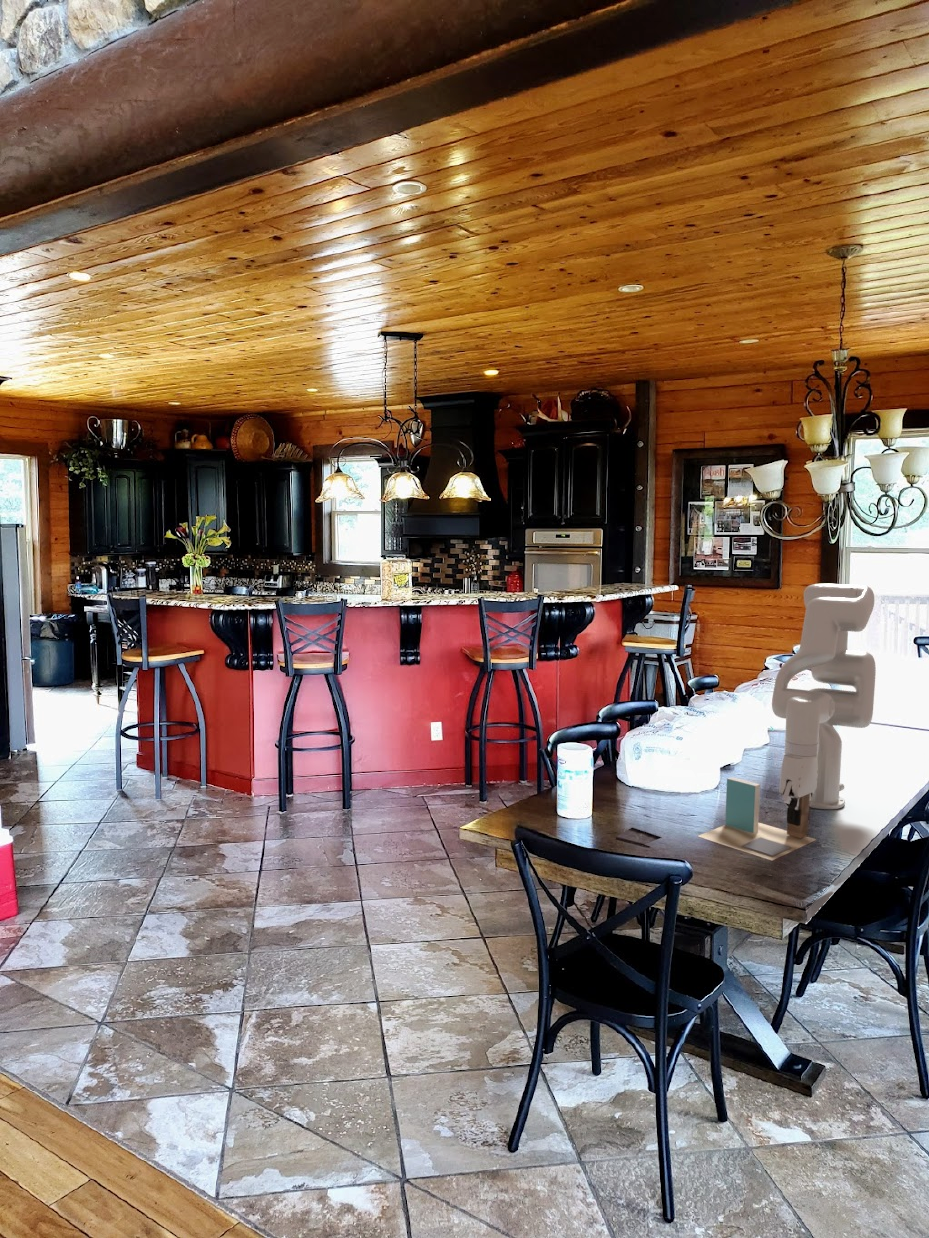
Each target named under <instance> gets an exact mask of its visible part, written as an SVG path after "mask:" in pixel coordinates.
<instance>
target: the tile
mask: <svg viewBox="0 0 929 1238" xmlns="http://www.w3.org/2000/svg"><path fill="white" fill-rule="evenodd" d="M725 797H726V798H725V819H724V820H725V823H724V825H727V826H730V827H734V828H737V829H740V830H743V831H747V832H750V833H753V834H754V833H756V832H758V824H759V823H760V822H759V821H760V820H759V819H760V818H759V817H760V798H761V784H760V783H757V782H753V781H749V780H745V779H742V778H736V777H734V776H730V777H728V778H726V796H725Z"/></svg>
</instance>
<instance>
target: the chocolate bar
mask: <svg viewBox="0 0 929 1238" xmlns="http://www.w3.org/2000/svg"><path fill="white" fill-rule="evenodd" d="M662 838H663V837H662V836H659V835H656V834H653V833H650V832H648V831H645V830H641V829H638V828H636V827H630V828H629V829H627V830H625V831H624V832H623V831H622V832H621V833H620V834H618V835H617V836H615V840H618V841H623V842H627V843H631V844H634V845H638V844H639V845H638V846H642V845H643V847H647V848H649V847H650V848H651V846H649V845H646V844H648V843H651V842H654V841H657V840H659V839H662Z"/></svg>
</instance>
